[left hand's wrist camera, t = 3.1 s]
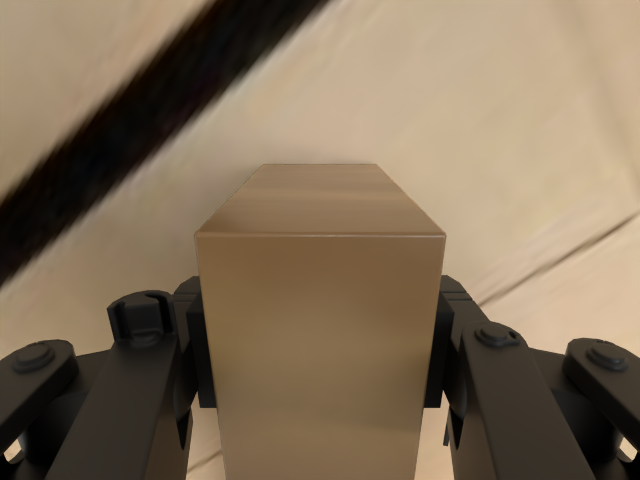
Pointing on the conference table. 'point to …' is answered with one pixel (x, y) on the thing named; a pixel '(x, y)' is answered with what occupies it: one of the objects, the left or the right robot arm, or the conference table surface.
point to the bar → (320, 322)
